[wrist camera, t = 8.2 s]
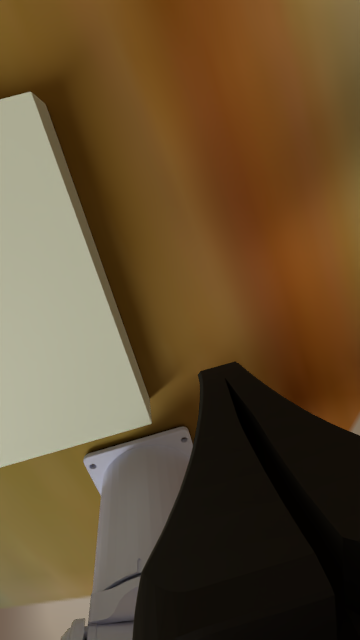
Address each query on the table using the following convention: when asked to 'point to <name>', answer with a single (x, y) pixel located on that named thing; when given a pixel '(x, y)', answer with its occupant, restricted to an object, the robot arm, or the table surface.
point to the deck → (55, 304)
